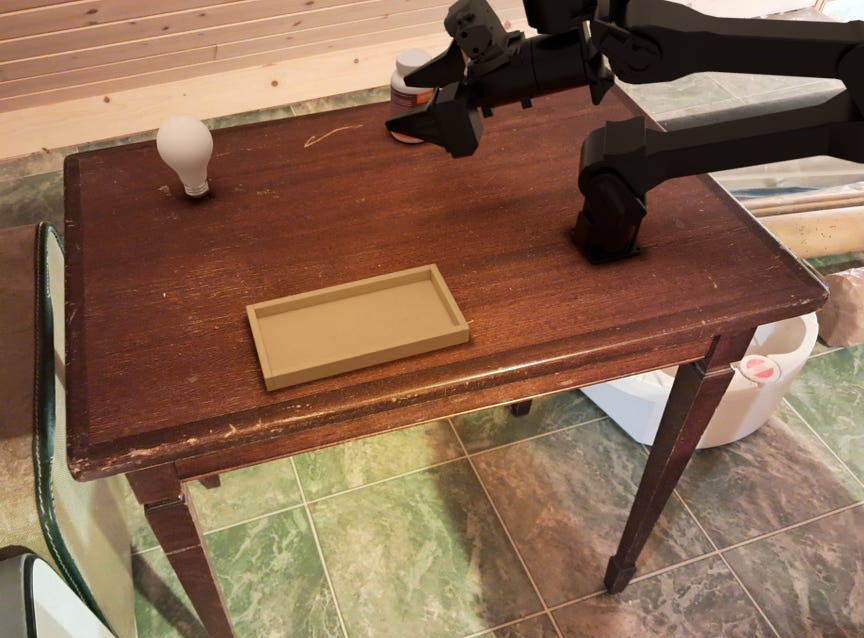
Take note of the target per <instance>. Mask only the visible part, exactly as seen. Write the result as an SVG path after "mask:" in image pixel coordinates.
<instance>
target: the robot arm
mask: <svg viewBox="0 0 864 638" xmlns="http://www.w3.org/2000/svg"><path fill="white" fill-rule="evenodd" d="M521 1H522V6H523V10H524V14H525V18H526V22H527V26H528V27H530V28H531V29H535V30H536V33H537V35H534V36H531V37H526V33H525V31H521V30H519V29H515V30H513V31H508V32H507V30H506V28H505V26H504V25H503V23H502V21H501V20H500V18H499V16H498V15H497V13H496V12H495V10H494V9H493V7H492V6H491V5H490V4H489V2H488V0H456V1H455V2H454V3H453V4H452V5H450V6H449V7H448V9H447V10H448V12H447V14H446V16H445V18H444V20H443V27H444V29H445V31H446V33H447V34H448V35H449V37H450V38H452V39H451V41H450V43H449V45H448V47H447V49H445V50H443V51H442V52H441V53H440V54H438V55H436V56H435V57H433V58H432V60H430V61H428V62H427V63H425V64H424V65H422V66H420V67H419V68H417V69H415V70H414V71H412V72H411V73H409V74H407V75H406V76H404V78H403V81H404V83H405V86H406V87H414V88H436V90H435V91H434V93H433V95H432V97H431V99H430V101H429V102H428V103H427V104H424V105H422V106H419V107H417V108H414V109H411V110H409V111H406V112H404V113H401V114H399V115H396V116H394V117H392V118H391V117H390V118H387V119H386V120H385V121H384V125H385V128H386V130H387V131H388V132H390V133H391V132H394V133H398V134H401V135H405V136H409V137H413V138H416V139H420V140H423V142H427V143H429V144H431V145H435V146H438V147H440V148H442V149H443V148H444V150H445V152H446V153H447V154H450V155H451V158H452V159H454V160H459V159H464V158H467V157H473V155H475V152H476V151H477V149H478V148H479V146H480V143H481V138H482V134H483V131H484V125H483V122H482V118H481V115H480V112H479V108H480V110H481V114H482V117H483V119H487V118H493V117H494V115H495V110H496V108H499V107H504V106H508V105H512V104H513V105H514V104H517V103H520V104H521V108H522V110H527V109H531V108H533V107H534V101H535V99H537V98H542V97H546V96H550V95H555V94H559V93H564V92H568V91H571V90H572V91H573V90H575V89H579V88H584V87H588V88H589V93H590V98H591V103H592V105H593V106H596V107H597V106H599V105H600V104H601V102H602V101H603V99H604V98H605V97H606V94H607V93H608V91H609V90H610V89H611V88H612V87H614V86H615V83H616V77H617V80H618V81H620V82H622V83H624V84H627V85H632V86H637V85H638V86H640V85H650V84H661V83H670V82H674V81H677V80H679V79H683V78H685V77H688V76H691V75H694V74H701V73H721V74H723V73H724V74H739V75H742V74H743V75H756V76H757V75H758V76H775V77H777V76H778V77H793V78H809V79H811V78H812V79H825V80H826V79H829V80H839V81H840V82H841V83H842V84H843V85H844V87H845V89H844V90H842V91H841V92H839V93H837V94H836V95H834V96H832V97H831V98H829V99H827V100H826V101H824V102H822V103H819V104H816V105H810V106H805V107H799V108H793V109H788V110H783V111H776V112H771V113H766V114H760V115H754V116H749V117H744V118H743V117H742V118H737V119H732V120H727V121H720V122H715V123H710V124H709V123H708V124H705V125H704V124H703V125H699V126H693V127H687V128H681V129H675V130H670V131H661V130H656V129H653V128H649V127H646V126H647V125H646V116H645V115H637V116H634V117H631V118H627V119H625V120H624V119H623V120H617V121H613V120H605V121H604V126H602V127H598V128H595V129H594V130H592V131H590V133H589V135H587V137H586V138H585V139H584V140H583V142H582V144H581V147H580V153H579V155H580V156H579V165H578V174H577V175H578V176H577V187H578V190H579V193H580V194H581V195H582V196H583V197H584V199H583V205H582V209H581V210H579V211H578V214H577V218H576V221H575V226H572V227H570V228H569V231H568V234H569V235H570V237H571V238H572V240H573V241H574V242H575V244H576V245H577V247H578V248H579V250H581V252H582V253H583V254H584V256H585V257H586V258H587V259H588V261H589V262H590V263H591V265H600V264H605V263H608V262H612V261H616V260H621V259H625V258H629V257H633V256H638V255H641V254H642V252H643V248H642V247H641V245H640V244H639V242H637V238H638V235H639V232H640V229H641V227H642V226H641V225H642V222H643V219H644V218H645V217H646V216H647V215H648V192H650V191H652V190H653V189H654V188H657V187H658V186H659V185H661V184H662V183H664V182H667V181H670V180H672V179H678V178H680V179H681V178H686V177H691V176H698V175H705V174H711V173H712V174H713V173H717V172H719V173H720V172H724V171H731V170H738V169H744V168H752V167H759V166H763V165H771V164H777V163H784V162H789V161H796V160H803V159H809V158H816V157H830V158H833V159H834V158H835V159H838V160H840V161H841V160H842V161H846V162H850V163H853V164H854V163H855V164H859V165H864V20H862V19H854V20H848V21H846V22H841V21H840V22H839V21H816V20H797V19H796V20H795V19H794V20H793V19H773V18H771V19H770V18H747V17H725V16H724V17H723V16H715V15H709V14H706V13H703V12H701V11H698V10H697V9H694V8H692V7H690V6H688V5H685V4H683V3H679V2H675V1H670V0H521ZM588 22H589V24H588ZM605 58H607V63H608V65H609V68H608V67H607V66H606V64H605Z"/></svg>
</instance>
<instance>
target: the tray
mask: <svg viewBox="0 0 864 638" xmlns="http://www.w3.org/2000/svg"><path fill="white" fill-rule="evenodd" d="M245 310H246V314H247V318H248V322H249V325H250V330H251V334H252V338H253V341H254V345H255V349H256V352H257V356H258V360H259V365H260V368H261V371H262V376H263V379H264V383H265V387H266V390H267V392H272V391H275V390H276V391H277V390H280V389H283V388H287V387H291V386H295V385H300V384H304V383H307V382H312V381H315V380H319V379H323V378H328V377H332V376H336V375H341V374H344V373H348V372H352V371H356V370H360V369H364V368H368V367H372V366H377V365H380V364H384V363H389V362H392V361H396V360H400V359H404V358H405V359H406V358H408V357H412V356H417V355H421V354H424V353H429V352H432V351H436V350H440V349H445V348H449V347H452V346H457V345H461V344H465V343H468V342H469V340H470V338H469V337H470V331H471V330H470V329H471V328H470V325H469V324H468V323H467V320H466V318H465V317H464V315H463V313H462V311H461V309H460V307H459V306H458V304H457V302H456V300H455V298H454V296H453V294H452V292H451V290H450V288H449V287H448V285H447V282H446V281H445V279H444V277H443V275H442V273H441V272H440V270H439V268H438V266H437V264H436V263H431V264H426V265H422V266H416V267H411V268H408V269H403V270H400V271H394V272H391V273H386V274H381V275H376V276H373V277H368V278H364V279H360V280H355V281H350V282H346V283H342V284H337V285H332V286H328V287H323V288H320V289H314V290H310V291H306V292H302V293H298V294H293V295H288V296H283V297H279V298H275V299H270V300H266V301H261V302H257V303H253V304H248V305H245Z"/></svg>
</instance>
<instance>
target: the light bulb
mask: <svg viewBox="0 0 864 638" xmlns="http://www.w3.org/2000/svg"><path fill="white" fill-rule="evenodd" d="M213 140H214V139H213V136H212V134H211V131H210V130H209V128H208V127H207V126H206V125H205V123H204V122H202V121H201V120H199V119H198V118H197V117H195V116H191V115H189V114H177V115H173V116H171V117H169V118H168V119H166V120H165V121H164V122H163V123H162V124H161V126H160V127H159V129H158V131H157V135H156V146H157V151H158V154H159V155H160V158H161V159H162V161H163V162H164V163H166V165H167V166H169V167H170V168H171V169H172V170H173V171H174V172H176V175H178V178H179V180H180V181H181V183H182V184H183V187H184V191H185V193H186V194H187V196H188V197H190V198H194V199H195V198H198V199H199V198H202V197H204V196H205V195H206V194H207V193H208V192H209V189H210V187H209V184H208V181H207V178H208V171H207V168H208V164H209V161H210V160H211V157H212V155H213V151H214V141H213Z"/></svg>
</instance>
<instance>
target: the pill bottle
mask: <svg viewBox="0 0 864 638" xmlns="http://www.w3.org/2000/svg"><path fill="white" fill-rule="evenodd" d="M432 59H433V58H432V55H431V53H430V52H428V51H426V50H423V49H419V48H407V49H404V50H401V51H400V52H398V53H397V54H396V56H395V67H396V69H394V71H393V72H392V74H391V76H390V118H392V117H394V116H396V115H399V114H401V113H404V112H406V111H409V110H411V109H414V108H417V107H419V106H422V105H424V104H427V103H428V102H429V101H430V99H431V97H432V95H433V93H434V91H435V90H436V88H414V87H406V86H405V83H404V81H403V78H404V76H406V75H407V74H409V73H411V72H412V71H414V70H415V69H417V68H419V67H420V66H422V65H424V64H425V63H427V62H428V61H430V60H432ZM390 133H391V135H392V137H394V138H395V139H396V140H398V141H400V142H403V143H408V144H409V143H410V144H418V143H423V142H424V141H423V140H420V139H416V138H413V137H409V136H405V135H401V134H398V133H394V132H390Z"/></svg>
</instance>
